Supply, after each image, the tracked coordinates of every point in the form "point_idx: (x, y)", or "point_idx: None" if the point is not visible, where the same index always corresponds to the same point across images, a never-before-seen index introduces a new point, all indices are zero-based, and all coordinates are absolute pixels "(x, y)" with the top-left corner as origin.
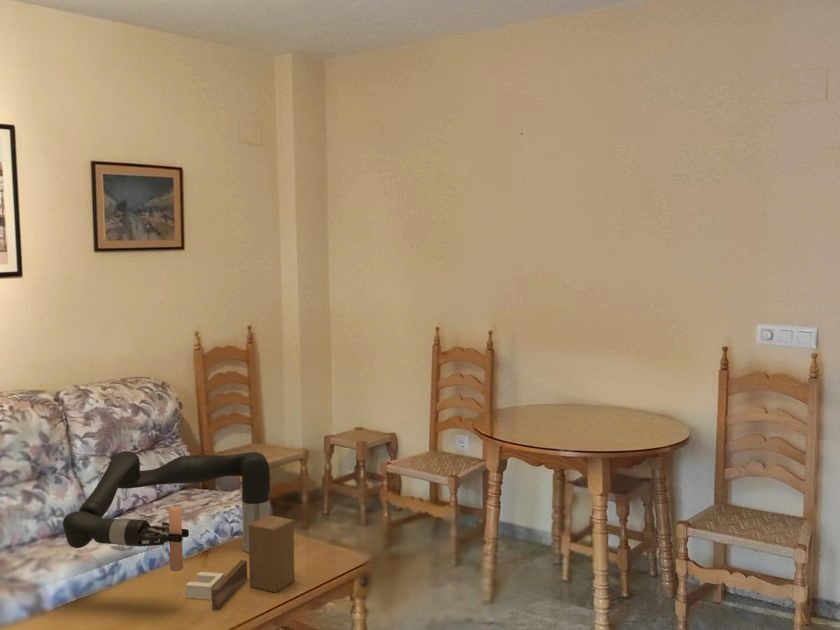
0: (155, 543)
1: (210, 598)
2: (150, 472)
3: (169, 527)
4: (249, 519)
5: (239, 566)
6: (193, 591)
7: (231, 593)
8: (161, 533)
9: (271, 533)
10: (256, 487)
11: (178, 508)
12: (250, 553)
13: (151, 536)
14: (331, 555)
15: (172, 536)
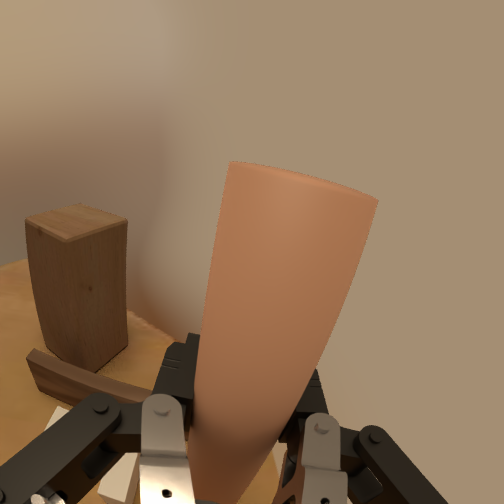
0: (378, 490)
1: None
2: None
3: (304, 387)
4: None
5: (62, 364)
6: (132, 486)
7: None
8: (331, 466)
9: (123, 231)
10: None
11: (298, 173)
12: (77, 314)
13: (416, 495)
14: (18, 276)
15: (320, 393)
